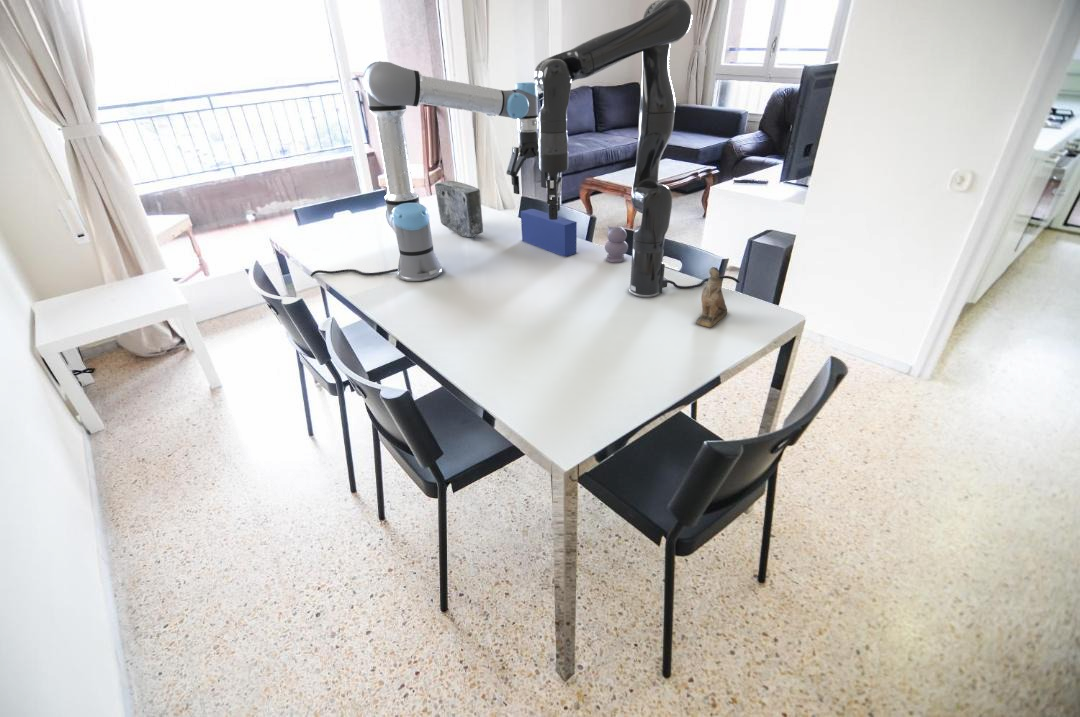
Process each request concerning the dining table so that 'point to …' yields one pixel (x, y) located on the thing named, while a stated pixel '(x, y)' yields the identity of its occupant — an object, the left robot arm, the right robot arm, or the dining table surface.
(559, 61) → the right robot arm
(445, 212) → the concrete block
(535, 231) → the box
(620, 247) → the cat figurine
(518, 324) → the dining table surface
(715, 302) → the brown carved statuette
